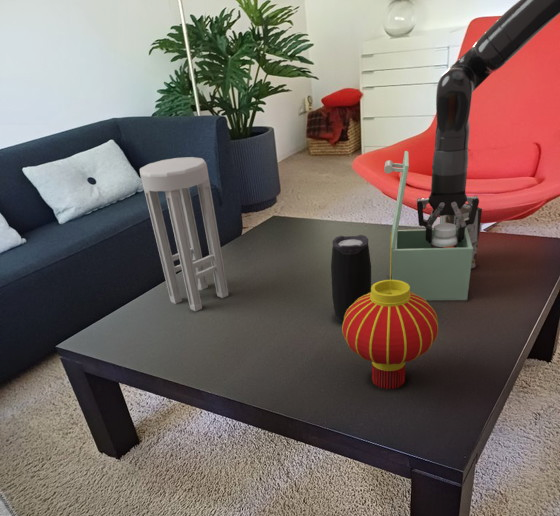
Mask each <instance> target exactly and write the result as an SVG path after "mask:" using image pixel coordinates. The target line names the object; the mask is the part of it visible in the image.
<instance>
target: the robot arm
mask: <svg viewBox="0 0 560 516" xmlns="http://www.w3.org/2000/svg"><path fill="white" fill-rule="evenodd" d="M559 15H560V0H518V1H517V2H515V4H513V5H512V6H511V7H510V8H509V9H508V10H507V11H505V12H503V14H502V15H501V16H500V17H499V18H498V19H497V20H496V21H495V22H494V23H493V24H492V25H491V26H490V27H489V28H488V29H487V30H485V32H484V33H483V34H482V35H481V36H480V37H479V38H478V39H477V41H476V42H475V43H474V45H473V46H472V47H470V49H468V50H467V51H466V52H465V53H464V54H463V55H462V56H461V57H460V58H458V59H457V60H456V61H455V62H454V63H453V64H452V65H451V66H449V68H448V69H446V71H445V72H444V73H443V74H442V75H441V77H440V78H439V79H438V82H437V85H436V93H435V94H436V95H435V96H436V97H435V109H436V111H435V112H436V126H435V135H434V137H435V138H434V151H433V155H432V156H433V157H432V165H431V185H430V186H431V187H430V194H429V196H428V197H427V198H421V197H418V198H417V199H416V209H417V219H418V220H417V221H418V226H419V227H423V228H424V229H426V235H425V238H426V241H428V243H431V242H432V229H433V225H434V223H435V222H436V221H437V219H438V217H440V216H444V215H450V216H452V215H454V214H455V215H456V217H457V219H458V221H459V225H458V234H457V239H458V242H461V240H463V239H464V234H465V227H466V226H467V225H469V224H473V223H474V221H475V217H476V213H477V208H479V203H480V199H479V196H478V195H473V196H469V195H468V196H467V193H466V188H467V180H468V168H469V167H468V166H469V145H470V132H471V126H470V114H471V105H472V98H473V93H474V91H475V90H477V88H478V87H480V85H482V84H483V82H485V81H486V79H488V78H489V77H490V76H491V75H492V74H493V73H495V72H496V71H498V70H499V69H500V68H502V67H503V66H505V64H507V62H509V61H510V60H511V59H512V58H513V57H514V56H515V55H516V54H517V53H518V52H520V51H521V50H522V49H523V47H525V46H526V45H527V44H528V43H529V42H530V41H531V40H532V39H534V37H535V36H536V35H538V34H539V33H540V32H541V31H542V30H543V29H544V28H545V27H546V26H547V25H549V24H550V23H552V21H553V20H554V19H556V18H557V17H558V16H559ZM465 203H467V204H468V205H469V206H470V211H469V215H468V218H465V219H464V217H463V215H462V213H461V211H460V209H461V207H462V206H463V205H464V204H465ZM428 204H429V206H430V207H431V209H432V210H431V212H430V214H429V216H428V218H427V219H425V217H424V210H425V209H426V208H427V205H428Z"/></svg>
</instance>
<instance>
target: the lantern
mask: <svg viewBox="0 0 560 516" xmlns="http://www.w3.org/2000/svg"><path fill="white" fill-rule="evenodd" d="M391 246H392V231H390V250H389V252H390V256H389V262H390V263H389V265H390V266H389V279H384V280H379V281H376V282H375V283H373V284H371V292H370V293H368V294H367V295H364V296H362V297H360V298H358V299H357V300H356V301H355V302H354V303H353V304H352V305H351V306H350V307H349V308H348V310H347V311H346V313H345V316H344V322H343V324H341V325H342V327H341V332H342V336H343V338H344V341H346V344H347V346H348V348H349V349H350V350H351V351H352V352H353V353H355V354H356V355H358V356H359V357H360V358H361V359H362V360H364V361H368V362H371V380H372V382H373V383H372V384H374V385H375V386H376V387H378V388H380V389H382V388H383V389H386V390H388V389H389V390H391V389H396V388H399V387H401V386H403V384H405V381H406V363H409V362H413V361H414V360H416V359H418V358H419V357H421V356H423V355H425V354H426V353H427V352H428V351H429V350H430V348H431V347H432V345H433V344H434V343H435V341H436V339H437V337H438V334H439V323H438V322H439V321H438V315H437V312H436V311H435V310H434V308H433V307H432V305H430V304H429V302H428V300H425V299H423V298H422V297H420V296H418V295H415V294H414V293H412V292H410V286H409V285H408V284H407V283H406V282H403V281H400V280H392V277H391V276H392V248H391ZM377 374H378V375H377Z"/></svg>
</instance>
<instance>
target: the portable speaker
mask: <svg viewBox="0 0 560 516" xmlns="http://www.w3.org/2000/svg"><path fill="white" fill-rule="evenodd" d="M330 274H331V275H330V276H331V277H330V278H331V291H332V292H331V294H332V297H331V298H332V303H333V309H334V314H335V321H336V322H337V323H338V324H340V325H343V322H344V316H345V313H346V311H347V310H348V308H349V307H350V306H351V305H352V304H353V303H354V302H355V301H356V300H357V299H358V298H360V297H362V296H364V295H367V294H368V293H370V292H371V287H372V261H371V253H370V247H369V238H368V237H367V236H366V235H363V234H359V235H349V236H348V235H346V236H345V235H339V236H336V237H335V238H333V239H332V248H331V262H330Z"/></svg>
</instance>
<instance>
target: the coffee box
mask: <svg viewBox="0 0 560 516" xmlns="http://www.w3.org/2000/svg"><path fill="white" fill-rule="evenodd" d="M460 211H461V213H462V215H463V217H464V219H465V218H468V215H469V211H470V206H469V205H468V202H466V203H465V204H464V205H463V206H462V207H461V209H460ZM482 211H483V208H482V207H478V208H477V213H476V217H475V221H474V223H473V224H469V225H467V226H466V227H465V228H467V230H468V233H469V237H470V240H471V244H472V247H473V254H472V262H471V269H474V268H476V265H477V256H478V247H479V239H480V229H481V221H482V213H483V212H482ZM442 223H450V224H454V225H456V227H457V228H458V225H459V221H458V219H457V217H456V215H455V214H454V215H452V216H450V215H444V216H440V215H439V224H442Z"/></svg>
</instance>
